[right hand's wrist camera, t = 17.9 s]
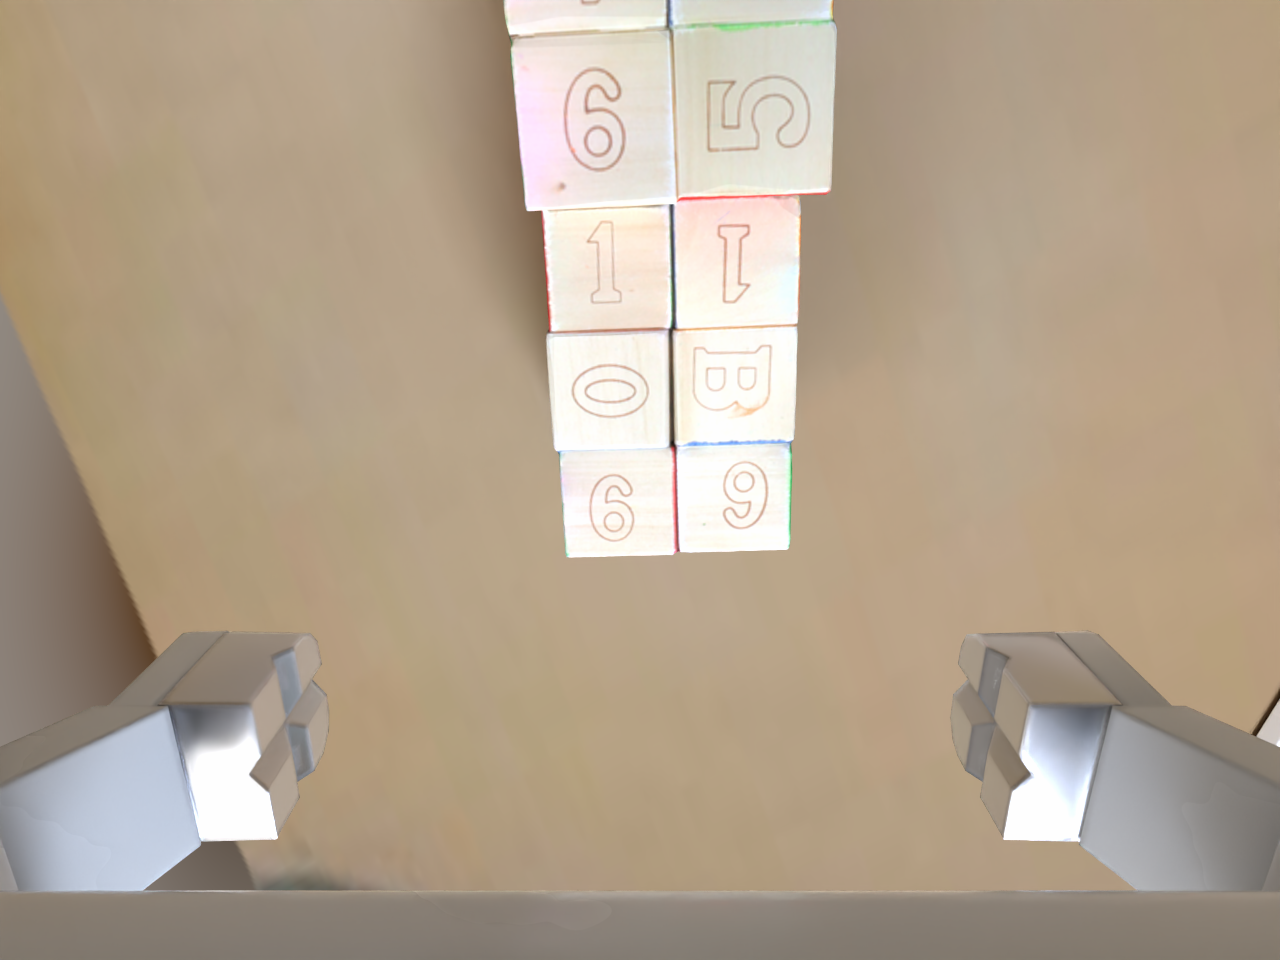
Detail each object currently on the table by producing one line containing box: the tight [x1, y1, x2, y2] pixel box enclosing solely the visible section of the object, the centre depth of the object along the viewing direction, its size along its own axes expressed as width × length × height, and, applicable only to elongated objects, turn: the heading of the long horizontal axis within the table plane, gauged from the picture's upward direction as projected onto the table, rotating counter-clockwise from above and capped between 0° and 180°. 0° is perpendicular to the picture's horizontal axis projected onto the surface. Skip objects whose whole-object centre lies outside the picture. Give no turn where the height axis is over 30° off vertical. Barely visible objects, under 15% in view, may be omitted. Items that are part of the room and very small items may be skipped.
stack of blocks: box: [503, 0, 837, 557], centre depth 21 cm, size 21×6×12 cm, turn 2°
